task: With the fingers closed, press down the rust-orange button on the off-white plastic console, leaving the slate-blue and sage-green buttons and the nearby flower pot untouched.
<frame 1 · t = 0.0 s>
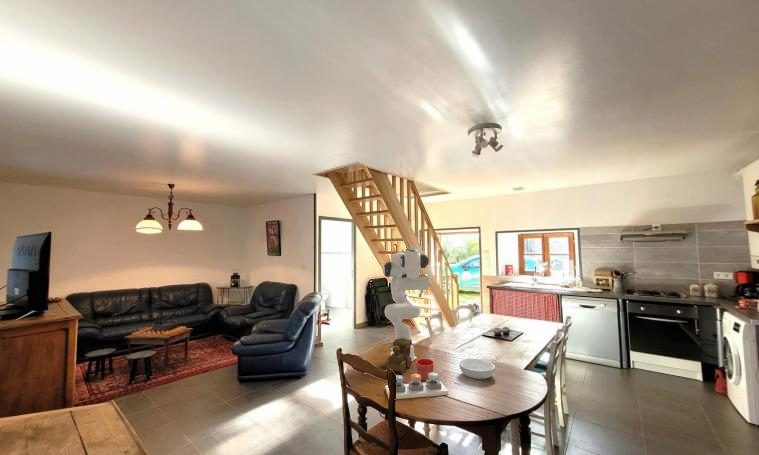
hand: (412, 297, 188), 48 cm above the table, tool pointing down, fingers open, 8 cm apart
rust button: (415, 380, 166), point 6 cm above the table, slide at 0.0 cm
sage button: (433, 378, 168), point 6 cm above the table, slide at 0.0 cm
serving bowl: (477, 376, 186), on the table
slate button: (397, 381, 165), point 6 cm above the table, slide at 0.0 cm
console: (416, 391, 166), on the table
flower pot: (425, 378, 183), on the table
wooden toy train: (399, 369, 198), on the table
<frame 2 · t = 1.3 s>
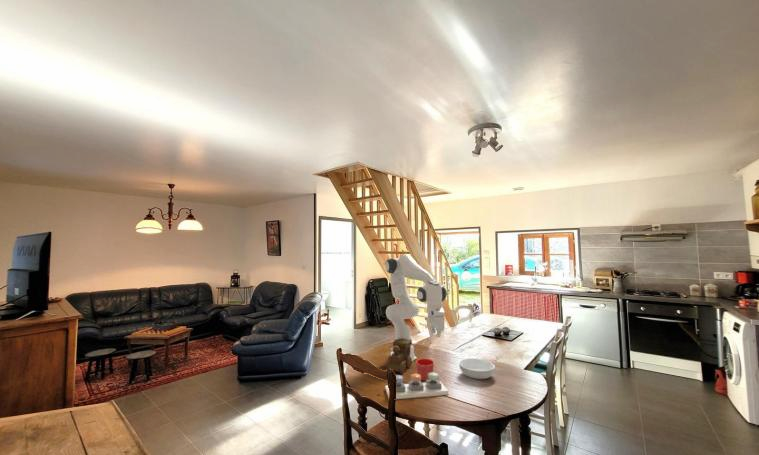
hand: (435, 334, 174), 29 cm above the table, tool pointing down, fingers open, 8 cm apart
nothing on the table moved.
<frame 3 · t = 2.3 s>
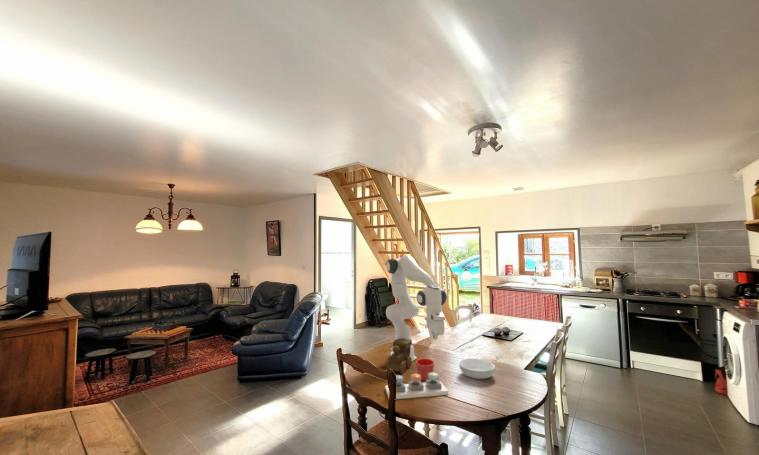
hand: (435, 338, 173), 26 cm above the table, tool pointing down, fingers closed
nothing on the table moved.
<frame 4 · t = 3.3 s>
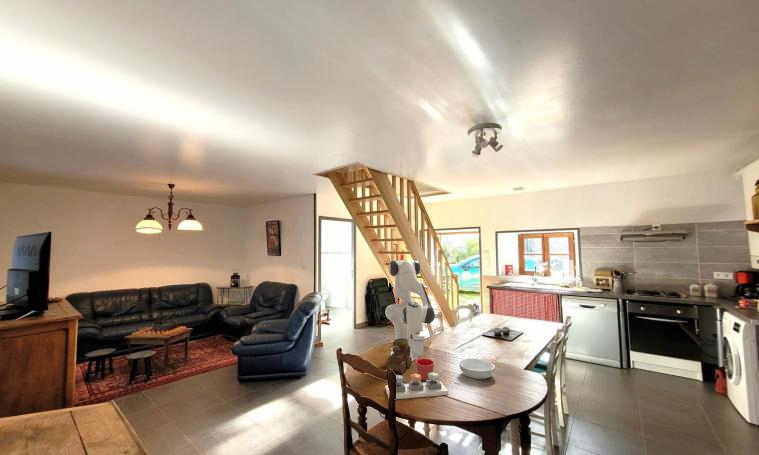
hand: (415, 358, 167), 18 cm above the table, tool pointing down, fingers closed
nothing on the table moved.
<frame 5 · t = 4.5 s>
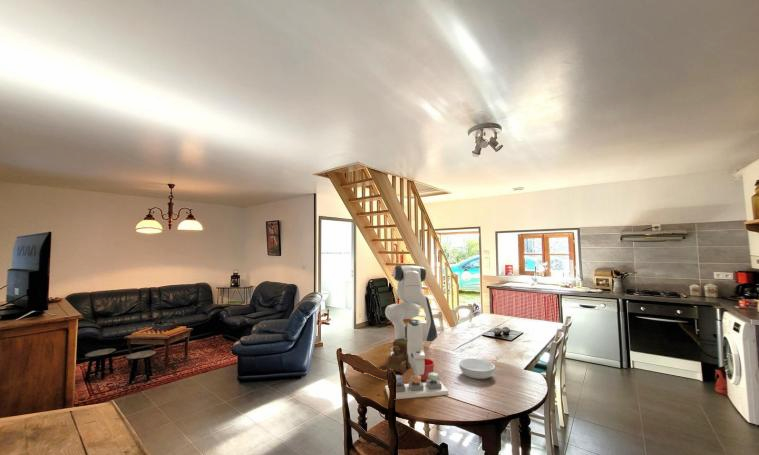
hand: (416, 376, 166), 8 cm above the table, tool pointing down, fingers closed, pressing on rust button
rust button: (415, 381, 166), point 6 cm above the table, slide at 0.6 cm, touching gripper
everything else where it was.
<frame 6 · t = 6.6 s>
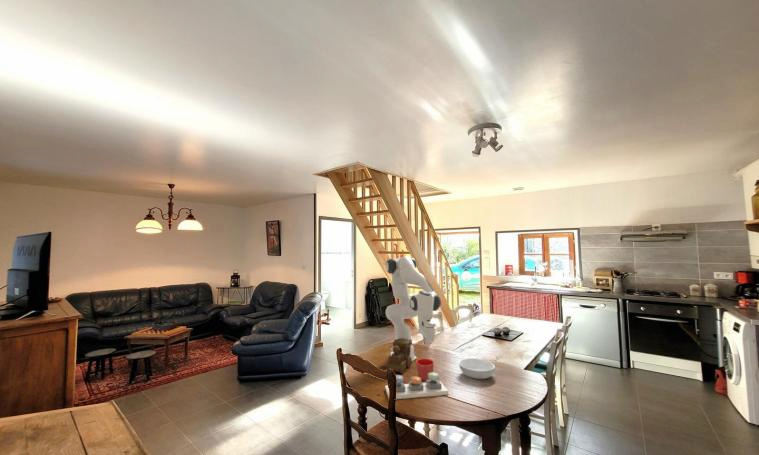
hand: (426, 344, 173), 23 cm above the table, tool pointing down, fingers closed
rust button: (415, 382, 166), point 5 cm above the table, slide at 1.5 cm
everything else where it was.
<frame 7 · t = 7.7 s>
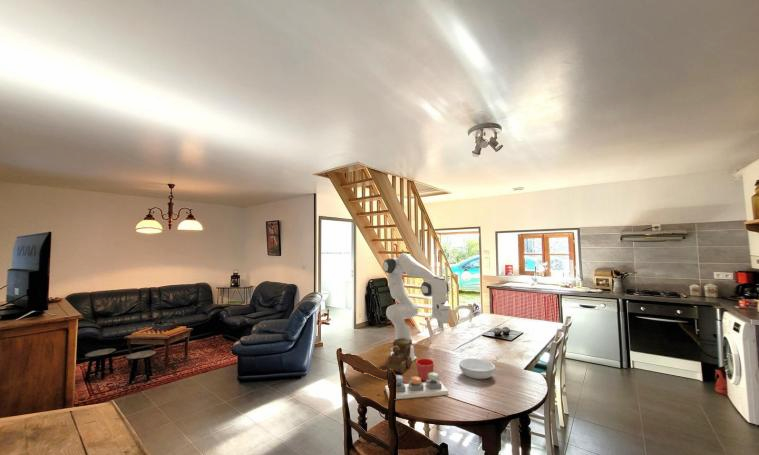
hand: (440, 327, 179), 31 cm above the table, tool pointing down, fingers closed
nothing on the table moved.
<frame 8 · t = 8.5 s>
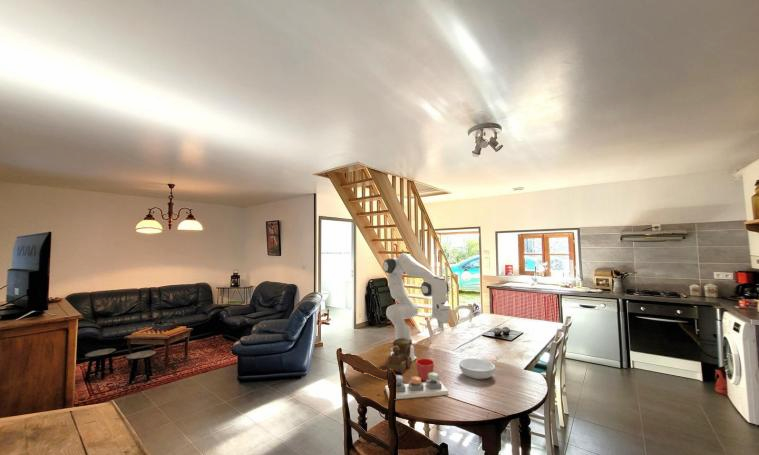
hand: (440, 327, 179), 31 cm above the table, tool pointing down, fingers closed
nothing on the table moved.
at the end: rust button slide at 1.5 cm; slate button slide at 0.0 cm; sage button slide at 0.0 cm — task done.
